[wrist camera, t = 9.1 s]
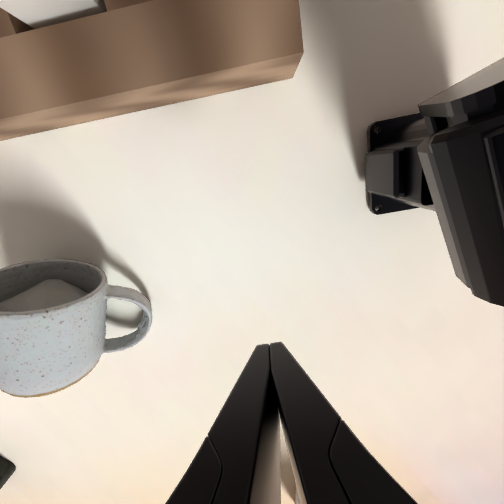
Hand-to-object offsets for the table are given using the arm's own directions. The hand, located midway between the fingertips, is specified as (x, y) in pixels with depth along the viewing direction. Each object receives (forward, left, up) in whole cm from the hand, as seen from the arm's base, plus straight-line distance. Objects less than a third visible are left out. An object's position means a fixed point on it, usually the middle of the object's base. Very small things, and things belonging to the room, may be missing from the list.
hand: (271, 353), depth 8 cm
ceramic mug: (+16, +3, -13) cm, 21 cm away
